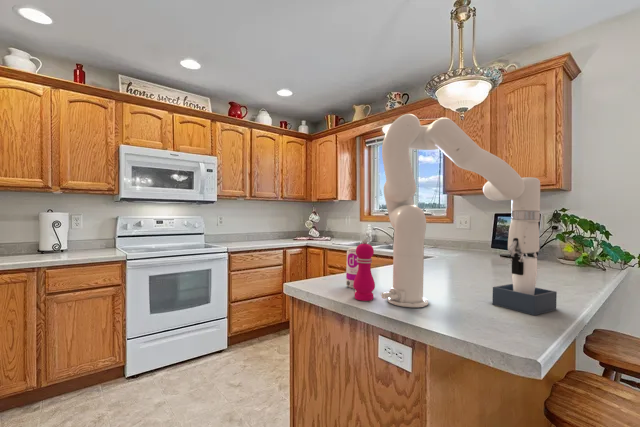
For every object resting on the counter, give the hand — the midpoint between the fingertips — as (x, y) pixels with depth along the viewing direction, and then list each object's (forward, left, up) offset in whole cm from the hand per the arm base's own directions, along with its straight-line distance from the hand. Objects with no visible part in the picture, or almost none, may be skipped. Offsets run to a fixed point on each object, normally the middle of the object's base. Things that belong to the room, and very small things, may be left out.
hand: (524, 272), depth 99 cm
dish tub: (0, 0, -11) cm, 11 cm away
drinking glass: (0, 0, -10) cm, 10 cm away
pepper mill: (-40, +30, -11) cm, 51 cm away
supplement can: (-32, +45, -11) cm, 56 cm away
